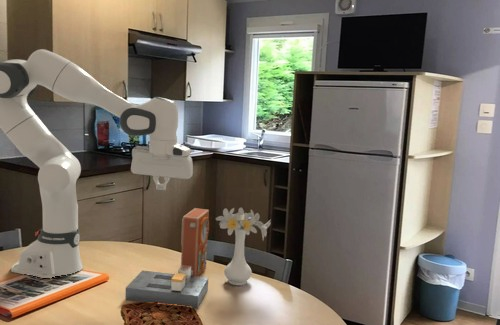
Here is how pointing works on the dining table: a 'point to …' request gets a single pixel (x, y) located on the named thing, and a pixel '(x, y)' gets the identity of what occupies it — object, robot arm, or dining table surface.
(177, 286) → the block
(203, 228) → the orange retro radio
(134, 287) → the box
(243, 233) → the flower vase
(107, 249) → the dining table surface
